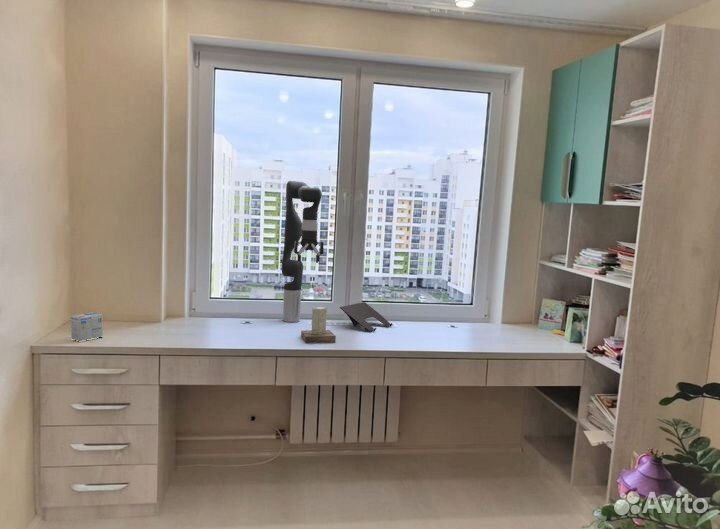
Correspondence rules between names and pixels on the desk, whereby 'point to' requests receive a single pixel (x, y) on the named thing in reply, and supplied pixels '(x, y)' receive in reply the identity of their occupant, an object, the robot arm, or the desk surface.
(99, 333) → the light bulb box
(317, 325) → the skincare box
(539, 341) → the desk surface
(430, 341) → the desk surface
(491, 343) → the desk surface
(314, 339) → the walnut stand
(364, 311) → the portable electronic device stand
